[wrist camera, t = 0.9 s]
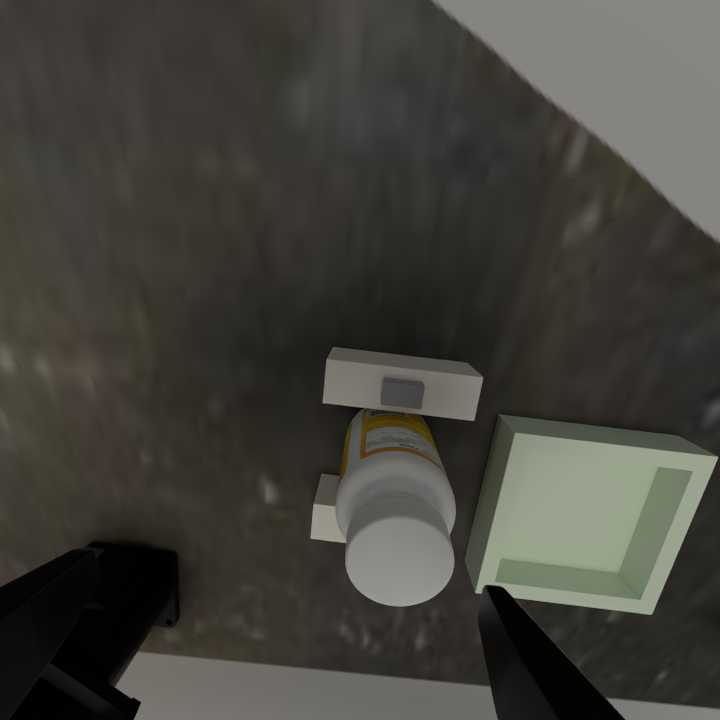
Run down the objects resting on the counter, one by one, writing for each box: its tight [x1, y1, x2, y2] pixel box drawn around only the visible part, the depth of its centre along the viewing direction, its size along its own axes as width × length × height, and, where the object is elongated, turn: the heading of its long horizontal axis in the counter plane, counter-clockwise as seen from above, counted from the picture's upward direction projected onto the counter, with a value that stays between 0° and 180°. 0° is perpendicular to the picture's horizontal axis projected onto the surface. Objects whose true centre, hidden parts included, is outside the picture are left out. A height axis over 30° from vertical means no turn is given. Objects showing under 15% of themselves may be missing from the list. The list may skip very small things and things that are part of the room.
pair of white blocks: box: [311, 347, 483, 543], centre depth 19 cm, size 11×8×4 cm
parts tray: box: [465, 414, 718, 615], centre depth 20 cm, size 11×11×2 cm
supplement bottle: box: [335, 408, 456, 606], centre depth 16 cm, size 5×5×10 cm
